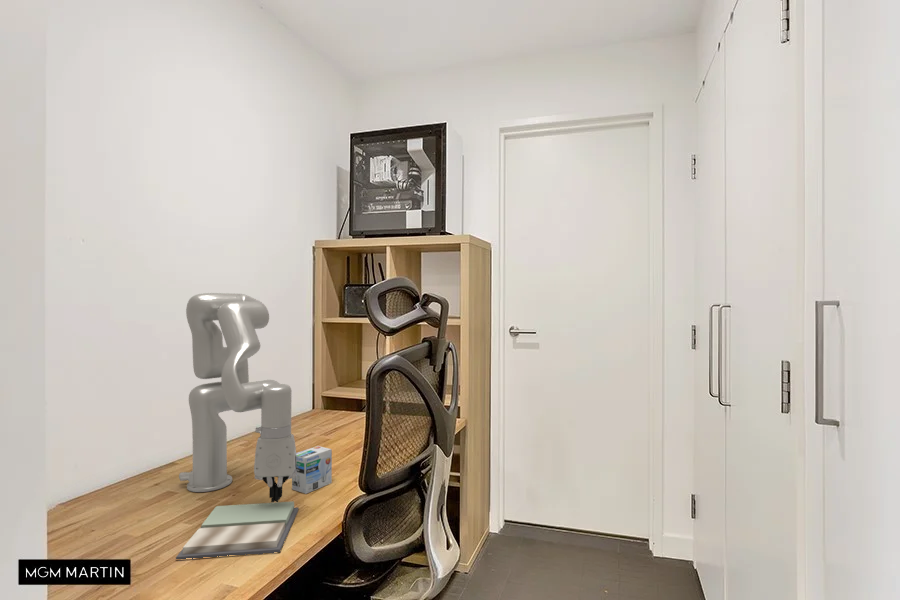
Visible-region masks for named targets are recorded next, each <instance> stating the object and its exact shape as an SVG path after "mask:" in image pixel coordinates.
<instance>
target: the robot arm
mask: <svg viewBox="0 0 900 600" xmlns="http://www.w3.org/2000/svg"><path fill="white" fill-rule="evenodd" d="M185 312H186V313H185V315H186V319H187V323H188V324H187V325H188V327H189V330H190V333H191V339H192V341H191V342H192V347H191V348H192V365H193V366H192V367H193V372H194V375H195V377H196V378H197V379H201V380H212V379H218V378H220V379H221V380H220V381H216V382H209V383H203V384H199V385H197V386H195V387H194V388H192V389H191V391H190V392H189V394H188V405H189V410H190V415H191V428H192V433H191V434H192V436H191V437H192V470H191V471H190V472H189V471H184V472H183V471H181V472H179V475H178V479H179V480H180V482H182V481H184V482H185V481H188V483H187V485H186V489H187V490H188V491H189V492H192V493H193V492H194V493H206V492H213V491H218V490H220V489H223V488H226V487H227V486H229V485H230V484H232V482H233V476H232V475H230V474H228V466H227V465H228V464H227V463H228V458H227V457H228V456H227V455H228V454H227V451H228V450H227V449H228V444H227V443H228V442H227V437H228V436H227V431H228V430H227V429H228V428H227V424H226V422H225V420H223V418H222V417H221V416H220V415H219V414H220V413H224V412H229V411H233V412H235V413H246V412H250V411H254V410H259V409H260V410H261V411H260V413H261V414H260V415H261V418H260V420H261V421H260V426H258V427H256V428H255V433H258V434H260V436H259V437H258V438H257V441H256V446H255V451H254V452H255V454H254V463H253V473H254V479H255V480H259V481H263V482H264V483H265V484H266V485H267V486H268V488H269V492H268V495H269V499H270V500H271V501H270V503H275V502H279V501H280V498H283V485H284V483H286V482H287V481H288V480H292V478H295V477H296V476H297V471H296V465H297V458H296V453H297V448H296V447H297V446H296V440H295V437H294V434H292V388H291V386H290V385H289V384H285V383H284V384H283V383H280V382H278V381H277V380H274V379H266V380H258V381H251V382H250V381H249V380H250V377H249V375H250V374H249V362H248V361H249V358H251V357H252V356H255V354H257V353H258V352H259V351H260V349H261V342H260V340H259V337H258V334H257V332H256V330H260V329H263V328H265V327H266V326H268V324H269V323H270V322H269V321H270V313H269V310H268V308H267V306H266V305H265V304H264V303H263V302H262V301H260V300H259V299H256V298H254V297H251V296H249V295H248V294H245V293H229V292H226V293H223V292H221V293H220V292H208V293H206V292H205V293H198V294H194V295H193V296H191V297H190V298H189V299H188V301H187V304H186V309H185ZM214 321H218V324H219V326H220V327H219V326H218V325H217V324H216V323H215V322H214ZM223 338H224V341H225V345H226V346H225V347H224V343H223V342H224V341H223ZM276 477H277V482H276V479H275V478H276Z"/></svg>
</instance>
